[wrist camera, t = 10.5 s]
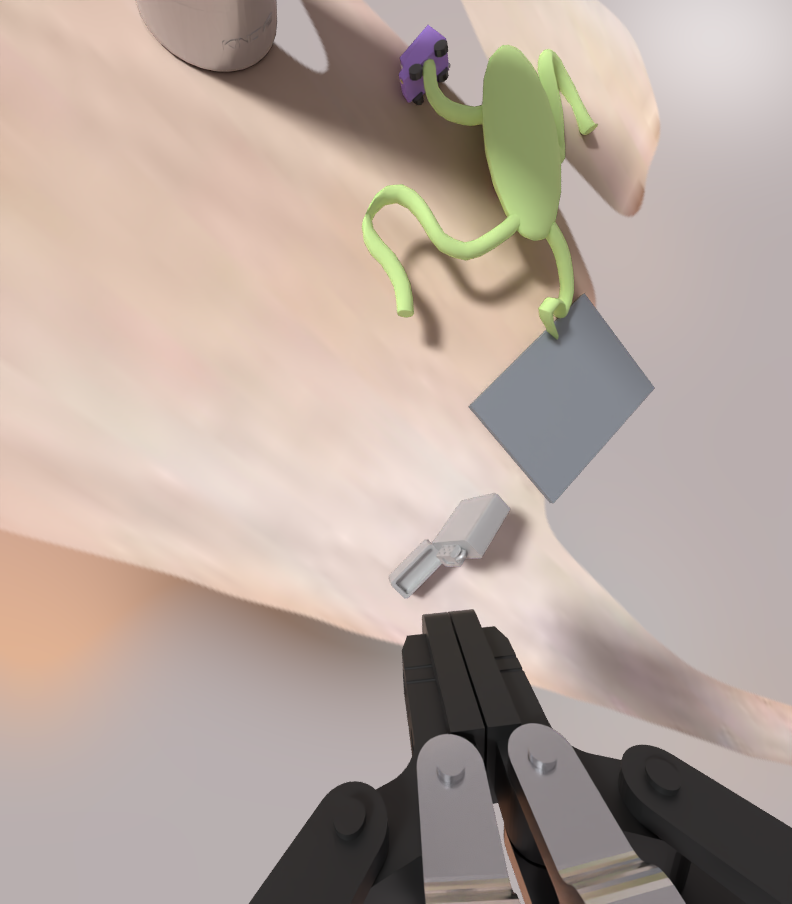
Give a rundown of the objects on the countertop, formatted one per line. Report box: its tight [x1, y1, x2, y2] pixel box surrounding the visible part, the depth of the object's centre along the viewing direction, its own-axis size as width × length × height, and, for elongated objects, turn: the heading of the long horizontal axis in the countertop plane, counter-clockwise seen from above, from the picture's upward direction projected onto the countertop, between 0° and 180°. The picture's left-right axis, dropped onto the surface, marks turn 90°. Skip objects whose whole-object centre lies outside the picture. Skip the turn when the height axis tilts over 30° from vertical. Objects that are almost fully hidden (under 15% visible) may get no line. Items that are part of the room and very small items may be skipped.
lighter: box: [389, 493, 510, 598], centre depth 29 cm, size 7×2×8 cm
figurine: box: [362, 25, 598, 340], centre depth 31 cm, size 18×27×6 cm
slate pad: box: [469, 293, 654, 503], centre depth 35 cm, size 11×15×1 cm
